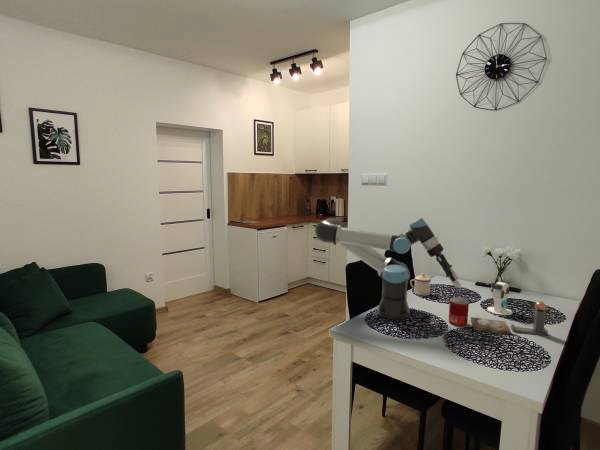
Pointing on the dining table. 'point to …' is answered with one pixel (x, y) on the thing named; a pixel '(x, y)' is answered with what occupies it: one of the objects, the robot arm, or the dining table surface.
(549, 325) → the dining table surface
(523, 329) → the lever rail
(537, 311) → the press lever
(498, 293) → the panda figurine
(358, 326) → the dining table surface
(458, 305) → the canned food
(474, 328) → the plate
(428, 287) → the teacup with lid
